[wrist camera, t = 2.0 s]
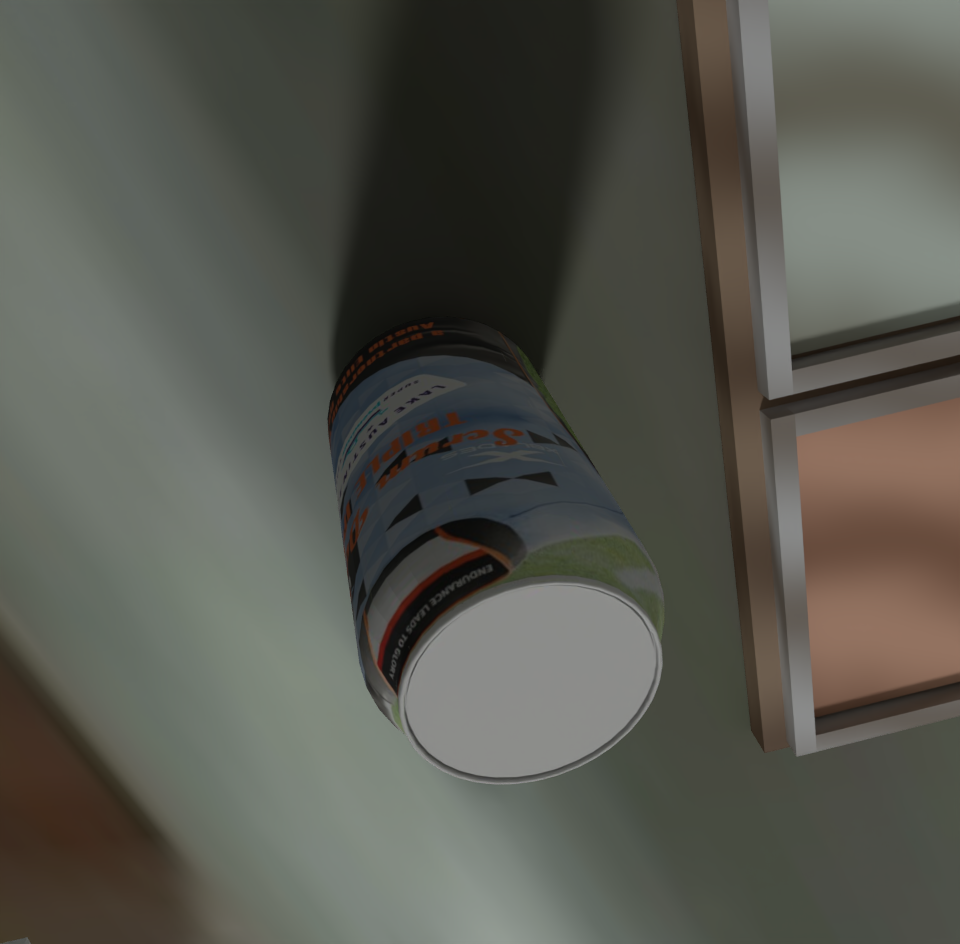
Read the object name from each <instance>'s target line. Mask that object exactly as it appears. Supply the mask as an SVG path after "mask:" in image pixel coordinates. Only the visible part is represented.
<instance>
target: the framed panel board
mask: <svg viewBox="0 0 960 944" xmlns="http://www.w3.org/2000/svg"><path fill="white" fill-rule="evenodd" d="M677 10H678V20H679V29H680V39H681V49H682V59H683V68H684V78H685V88H686V98H687V108H688V117H689V127H690V137H691V147H692V156H693V166H694V176H695V186H696V196H697V205H698V215H699V225H700V235H701V244H702V254H703V264H704V274H705V284H706V293H707V303H708V313H709V323H710V332H711V342H712V352H713V362H714V371H715V381H716V391H717V401H718V411H719V420H720V430H721V440H722V450H723V459H724V469H725V479H726V489H727V499H728V508H729V518H730V528H731V538H732V547H733V557H734V567H735V577H736V587H737V596H738V606H739V616H740V626H741V635H742V645H743V655H744V665H745V675H746V684H747V694H748V704H749V714H750V723H751V731H752V733H753V734H754V736H755V738H756V739H757V741H758V743H759V744H760V746H761V748H762V749H763V751H764V753H767V752H771V751H775V750H779V749H783V748H787V747H791V749H792V750H793V752H794V753H795V755H796V756H801V755H805V754H809V753H813V752H817V751H821V750H825V749H829V748H833V747H837V746H841V745H845V744H849V743H853V742H857V741H861V740H865V739H869V738H873V737H877V736H881V735H885V734H889V733H893V732H897V731H901V730H905V729H909V728H913V727H917V726H921V725H925V724H929V723H933V722H937V721H941V720H945V719H949V718H953V717H957V716H960V0H677Z"/></svg>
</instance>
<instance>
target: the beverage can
mask: <svg viewBox="0 0 960 944" xmlns="http://www.w3.org/2000/svg"><path fill="white" fill-rule="evenodd" d="M328 434H329V442H330V450H331V457H332V464H333V472H334V479H335V487H336V494H337V501H338V509H339V516H340V523H341V531H342V538H343V545H344V553H345V560H346V567H347V575H348V582H349V589H350V597H351V604H352V611H353V619H354V626H355V633H356V641H357V648H358V656H359V663H360V667H361V670H362V674H363V677H364V680H365V684H366V687H367V689H368V691H369V692H370V694H371V696H372V698H373V699H374V701H375V703H376V705H377V706H378V708H379V709H380V711H381V712H382V713H383V714H384V715H385V716H386V717H387V718H388V719H389V720H390V721H391V723H392V724H393V725H394V726H395V727H396V728H397V729H399V730H400V731H401V732H403V733H404V734H406V735H407V737H408V739H409V741H410V743H411V744H412V746H413V747H414V748H415V749H416V750H417V752H418V753H419V754H420V755H421V756H422V757H423V758H424V759H425V760H426V761H428V762H429V763H431V764H432V765H434V766H435V767H436V768H438V769H439V770H442V771H444V772H446V773H448V774H450V775H453V776H455V777H458V778H461V779H465V780H469V781H473V782H479V783H488V784H518V783H525V782H532V781H538V780H542V779H546V778H549V777H553V776H557V775H560V774H562V773H565V772H567V771H570V770H572V769H575V768H577V767H580V766H581V765H583V764H585V763H587V762H589V761H591V760H593V759H595V758H596V757H598V756H599V755H601V754H602V753H604V752H605V751H607V750H608V749H610V748H611V747H612V746H614V745H615V744H616V743H617V742H618V741H620V740H621V739H622V738H623V737H624V736H625V735H626V734H627V733H628V732H629V731H630V730H631V729H632V728H633V727H634V726H635V725H636V723H637V722H638V721H639V720H640V719H641V717H642V716H643V715H644V713H645V711H646V710H647V708H648V706H649V705H650V703H651V701H652V700H653V698H654V695H655V692H656V690H657V687H658V685H659V682H660V676H661V671H662V665H663V664H662V646H661V637H662V631H663V626H664V595H663V591H662V587H661V583H660V580H659V576H658V572H657V570H656V568H655V566H654V564H653V562H652V560H651V559H650V557H649V555H648V553H647V551H646V550H645V548H644V546H643V545H642V543H641V541H640V540H639V538H638V537H637V535H636V533H635V532H634V530H633V528H632V527H631V525H630V524H629V522H628V520H627V519H626V517H625V515H624V514H623V512H622V511H621V509H620V507H619V506H618V504H617V502H616V501H615V499H614V497H613V496H612V494H611V493H610V491H609V489H608V488H607V486H606V484H605V483H604V481H603V480H602V478H601V476H600V475H599V473H598V471H597V470H596V468H595V467H594V465H593V463H592V462H591V460H590V458H589V457H588V455H587V454H586V452H585V450H584V449H583V447H582V445H581V444H580V442H579V440H578V439H577V437H576V436H575V434H574V432H573V431H572V429H571V427H570V426H569V424H568V423H567V421H566V419H565V418H564V416H563V414H562V413H561V411H560V410H559V408H558V406H557V405H556V403H555V401H554V400H553V398H552V397H551V395H550V393H549V392H548V390H547V388H546V387H545V385H544V383H543V382H542V380H541V379H540V377H539V375H538V374H537V372H536V370H535V369H534V367H533V366H532V364H531V362H530V361H529V359H528V357H527V356H526V355H525V354H524V353H523V352H522V350H521V349H520V348H519V347H518V346H517V345H516V344H515V343H514V342H513V341H511V340H510V339H509V338H507V337H506V336H505V335H504V334H502V333H501V332H499V331H497V330H495V329H493V328H491V327H489V326H487V325H485V324H482V323H478V322H475V321H472V320H468V319H462V318H454V317H434V318H425V319H420V320H415V321H411V322H407V323H405V324H402V325H400V326H397V327H394V328H392V329H390V330H388V331H386V332H385V333H383V334H381V335H380V336H378V337H376V338H375V339H373V340H372V341H370V342H369V343H368V344H367V345H366V346H365V347H363V348H362V349H361V350H360V351H359V352H358V353H357V354H356V355H355V356H354V357H353V359H352V360H351V361H350V362H349V363H348V365H347V366H346V367H345V369H344V370H343V372H342V374H341V376H340V377H339V379H338V381H337V383H336V385H335V388H334V391H333V394H332V397H331V400H330V405H329V412H328Z"/></svg>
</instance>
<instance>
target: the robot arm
mask: <svg viewBox="0 0 960 944" xmlns="http://www.w3.org/2000/svg"><path fill="white" fill-rule="evenodd" d="M2 944H31V943H30V941H29V940H28V938H27V937H26V938H22V939H18V940H14V941H10V942H6V943H2Z"/></svg>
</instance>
